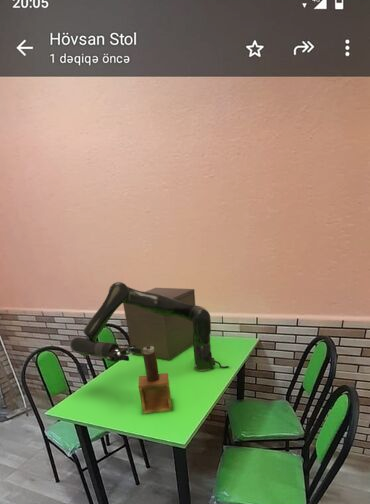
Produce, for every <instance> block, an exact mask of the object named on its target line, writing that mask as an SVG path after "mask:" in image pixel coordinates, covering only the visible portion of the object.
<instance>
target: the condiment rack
mask: <svg viewBox="0 0 370 504" xmlns="http://www.w3.org/2000/svg"><path fill="white" fill-rule="evenodd" d="M138 392H139V398H140V403H141V408H142V414H153V413H161V412H170V411H173V404H172V394H171V386H170V380H169V373H168V372H165V373H164V372H163V373H159V380H157V381H155V382H149V381H147V376H146V374H145V375H139V376H138Z"/></svg>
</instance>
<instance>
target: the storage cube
mask: <svg viewBox="0 0 370 504" xmlns="http://www.w3.org/2000/svg"><path fill="white" fill-rule="evenodd" d="M145 292H150V293H155V294H160V295H163V296H166V297H169V298H172V299H175V300H177V301H180V302H182V303H185V304H190V305H196V295H195V289H194V288H176V287H173V288H172V287H154V288H151V289H148V290H146V291H145ZM122 305H123V311H124V316H125V322H126V328H127V333H128V339H129V343H130V344H129V345H136V348H139V349H141V353H140V354H138V353H131V355H134V356H141V357H143V348H144V347H147V346H153V347H154V350H155V351H156V358H157V360H158V359H159V360H164V361H171V360H173V359H174V358H176V357H177V356H178V357H179V355H181V354H182V353H184V352H185V351H187V350H188V349H190V348H191V347H194V346H193V322H192V321H190V320H187V319H185V318H182V317H174V316H163V315H160V314H156V313H153V312H150V311H147V310H145V309H142V308H140V307H138V306H135V305H130V304H125V303H122Z"/></svg>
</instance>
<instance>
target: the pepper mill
mask: <svg viewBox="0 0 370 504" xmlns="http://www.w3.org/2000/svg"><path fill="white" fill-rule="evenodd" d="M142 357H143V362H144V370H145V375H146V376H147V381H149V382H155V381H157V380H159V374H160V373H159V372H160V371H159V365H158V361H157V360H158V358H156V351H155V350H154V347H153V346H147V347H144V348H143V356H142Z"/></svg>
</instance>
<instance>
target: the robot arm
mask: <svg viewBox="0 0 370 504" xmlns="http://www.w3.org/2000/svg"><path fill="white" fill-rule="evenodd" d="M123 303H125V304H130V305H135V306H138V307H140V308H142V309H145V310H147V311H150V312H153V313H156V314H160V315H163V316H174V317H182V318H185V319H187V320H190V321H192V322H193V346H192V347H193V357H194V369H195V370H196V371H199V372H207V371H210V370H213V366H216V364H218V366H219V368H221V369H228V368H229V366H230V365H226V366H222V365H221V363H220V362H219V361H216V360H215V358H214V357H213V353H212V345H211V343H212V342H211V333H212V321H211V314H210V312H209V311H208V310H207V309H206V307H203V306H201V305H196V304H195V305H190V304H185V303H182V302H180V301H177V300H175V299H172V298H169V297H166V296H163V295H160V294H155V293H150V292H146V291H141V290H138V289H135V288H132V287H129V286H127V285H126V284H125V283H124V282H122V281H116V282H114V283H112V284H111V285H110V286H109V288H108V293H107V295H106V297H105V300H104V301H103V303H102V304H101V306H100V307H99V308H98V310H97V311H96V312H95V313H94V315H92V317H91V318H90V320H89V321H88V323H87V324H86V326H85V328H84V329H83V334H84V335H85V337H86V338H84V337H80V336H77V337H74V338H72V339H71V340H70V342H69V343H70V344H69V346H70V349H71V350H72V351H73V352H74V353H77V354H79V355H81V356H83V357H88V356H90V357H91V356H92V357H97V358H101V359H105V360H107V362H108V361H109V362H114V363H118V362H121V361H125V362H130V356H129V355H130V354H132V353H138V354H140V353H141V349H139V348H136V345H130V344H124V346H120V345H118V344H117V343H114V342H108V341H97V340H98V337H99V336H100V334H101V333H102V331H103V330H104V328H105V327H106V325H107V323H108V322H109V320H110V319H111V317H112V316H113V314H114V313H116V311H117V309H119V307H120V306H121V305H123Z"/></svg>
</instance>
